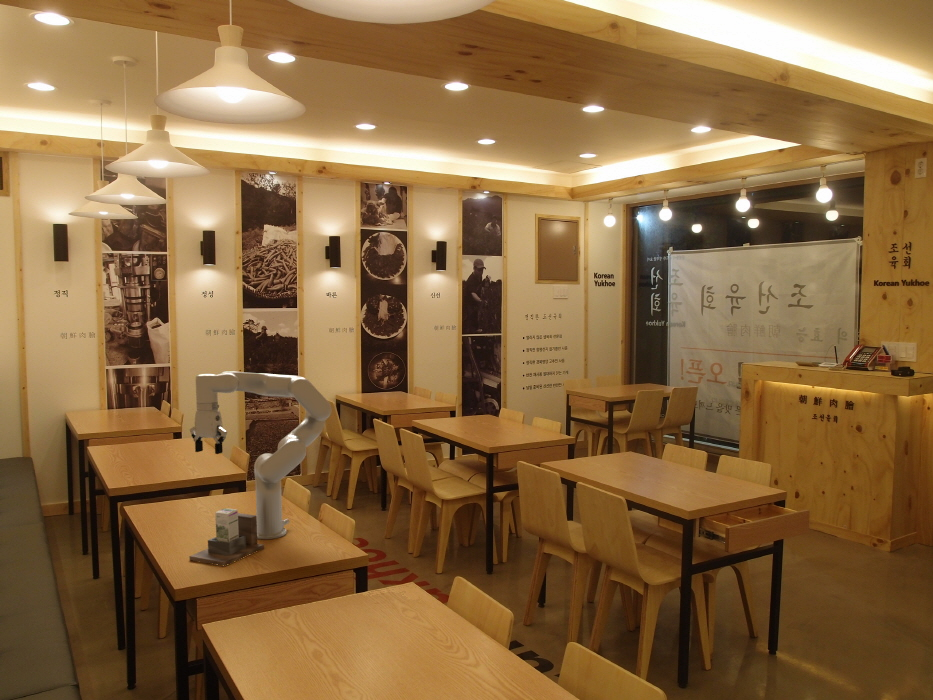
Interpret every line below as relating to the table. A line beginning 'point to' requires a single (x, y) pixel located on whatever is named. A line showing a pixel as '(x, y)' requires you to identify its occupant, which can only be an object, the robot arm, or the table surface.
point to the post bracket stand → (232, 544)
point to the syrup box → (227, 525)
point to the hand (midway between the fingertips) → (208, 452)
